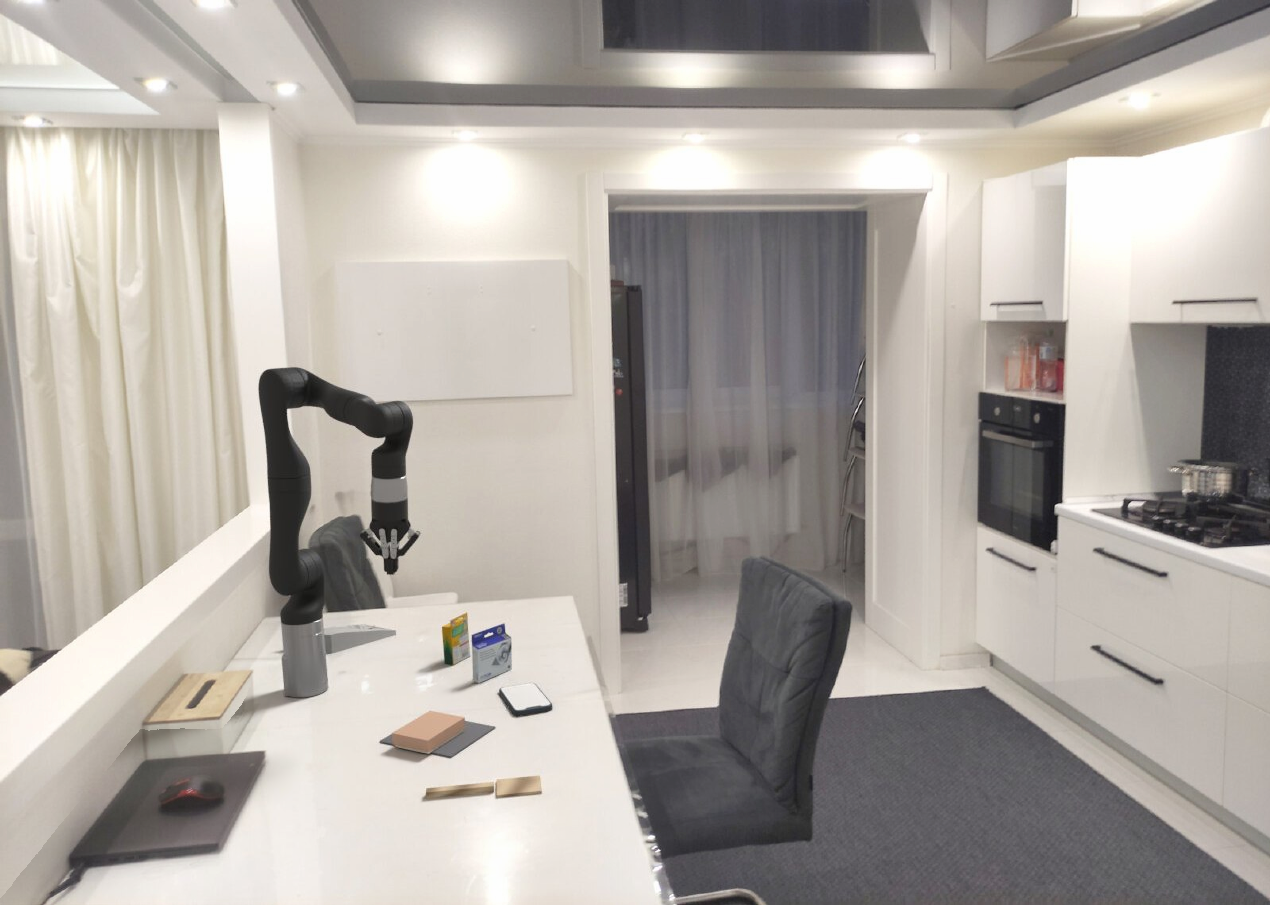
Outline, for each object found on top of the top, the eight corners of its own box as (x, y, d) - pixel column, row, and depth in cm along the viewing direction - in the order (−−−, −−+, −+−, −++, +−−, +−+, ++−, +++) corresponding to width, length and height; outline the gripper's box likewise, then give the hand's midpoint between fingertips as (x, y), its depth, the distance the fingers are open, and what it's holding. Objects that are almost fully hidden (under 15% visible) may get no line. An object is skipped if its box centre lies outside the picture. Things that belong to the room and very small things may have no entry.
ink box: (479, 684, 227) (476, 637, 225) (472, 682, 228) (469, 635, 227) (513, 669, 236) (511, 623, 234) (506, 667, 237) (504, 622, 236)
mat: (379, 742, 197) (379, 740, 197) (426, 714, 210) (426, 713, 210) (451, 757, 189) (451, 756, 189) (495, 728, 202) (495, 726, 202)
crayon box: (460, 654, 248) (458, 610, 246) (470, 656, 246) (468, 612, 245) (443, 664, 241) (440, 619, 239) (453, 665, 240) (450, 620, 238)
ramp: (391, 627, 273) (390, 609, 272) (401, 644, 259) (400, 624, 258) (286, 643, 262) (285, 624, 261) (291, 661, 248) (289, 641, 247)
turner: (425, 804, 171) (424, 798, 171) (427, 788, 177) (427, 782, 176) (541, 793, 174) (541, 787, 173) (540, 777, 179) (539, 771, 179)
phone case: (497, 694, 222) (514, 719, 207) (497, 687, 222) (514, 711, 207) (535, 688, 225) (554, 711, 210) (534, 681, 225) (554, 704, 210)
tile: (391, 733, 193) (429, 710, 204) (392, 747, 194) (430, 724, 204) (427, 740, 189) (464, 717, 200) (428, 755, 190) (465, 731, 200)
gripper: (424, 492, 208) (425, 568, 212) (362, 490, 207) (364, 566, 211) (417, 501, 200) (418, 580, 204) (353, 499, 200) (355, 578, 204)
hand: (391, 573), depth 208 cm, fingers closed
